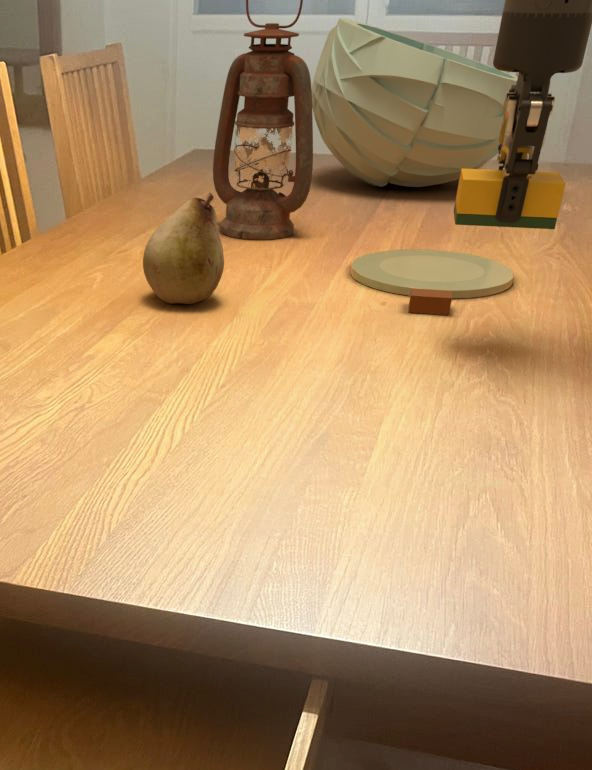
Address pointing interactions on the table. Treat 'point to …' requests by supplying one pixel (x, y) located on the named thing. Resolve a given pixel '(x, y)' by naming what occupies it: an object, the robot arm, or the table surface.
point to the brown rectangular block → (430, 301)
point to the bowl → (405, 107)
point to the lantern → (265, 110)
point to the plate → (432, 272)
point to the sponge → (484, 190)
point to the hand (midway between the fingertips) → (504, 213)
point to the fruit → (185, 254)
